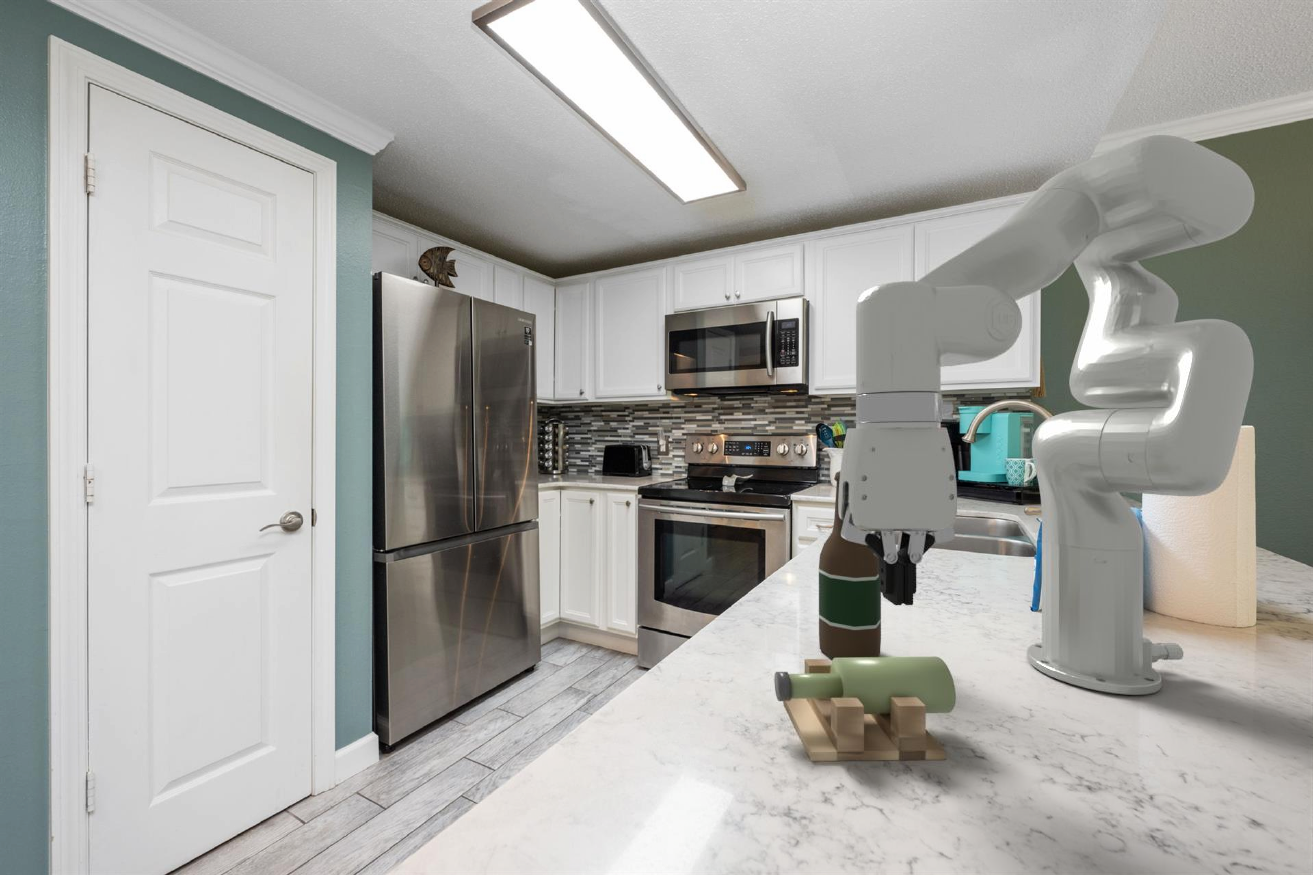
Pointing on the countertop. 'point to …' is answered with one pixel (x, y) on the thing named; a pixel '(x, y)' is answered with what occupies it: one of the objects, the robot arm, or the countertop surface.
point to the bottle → (875, 683)
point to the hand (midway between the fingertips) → (897, 600)
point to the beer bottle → (848, 596)
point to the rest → (861, 727)
